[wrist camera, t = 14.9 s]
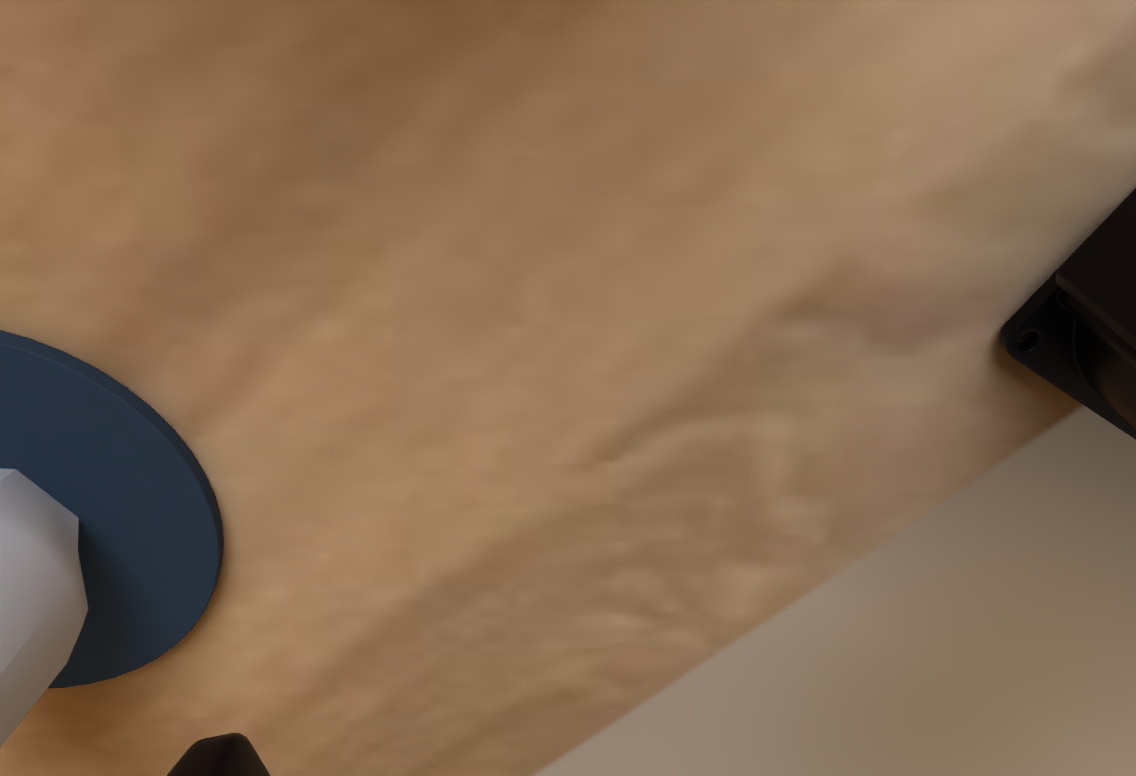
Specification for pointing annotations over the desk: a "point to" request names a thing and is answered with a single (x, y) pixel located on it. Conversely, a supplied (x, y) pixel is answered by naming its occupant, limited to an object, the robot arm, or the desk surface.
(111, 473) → the coaster
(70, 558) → the salt shaker
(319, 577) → the desk surface
